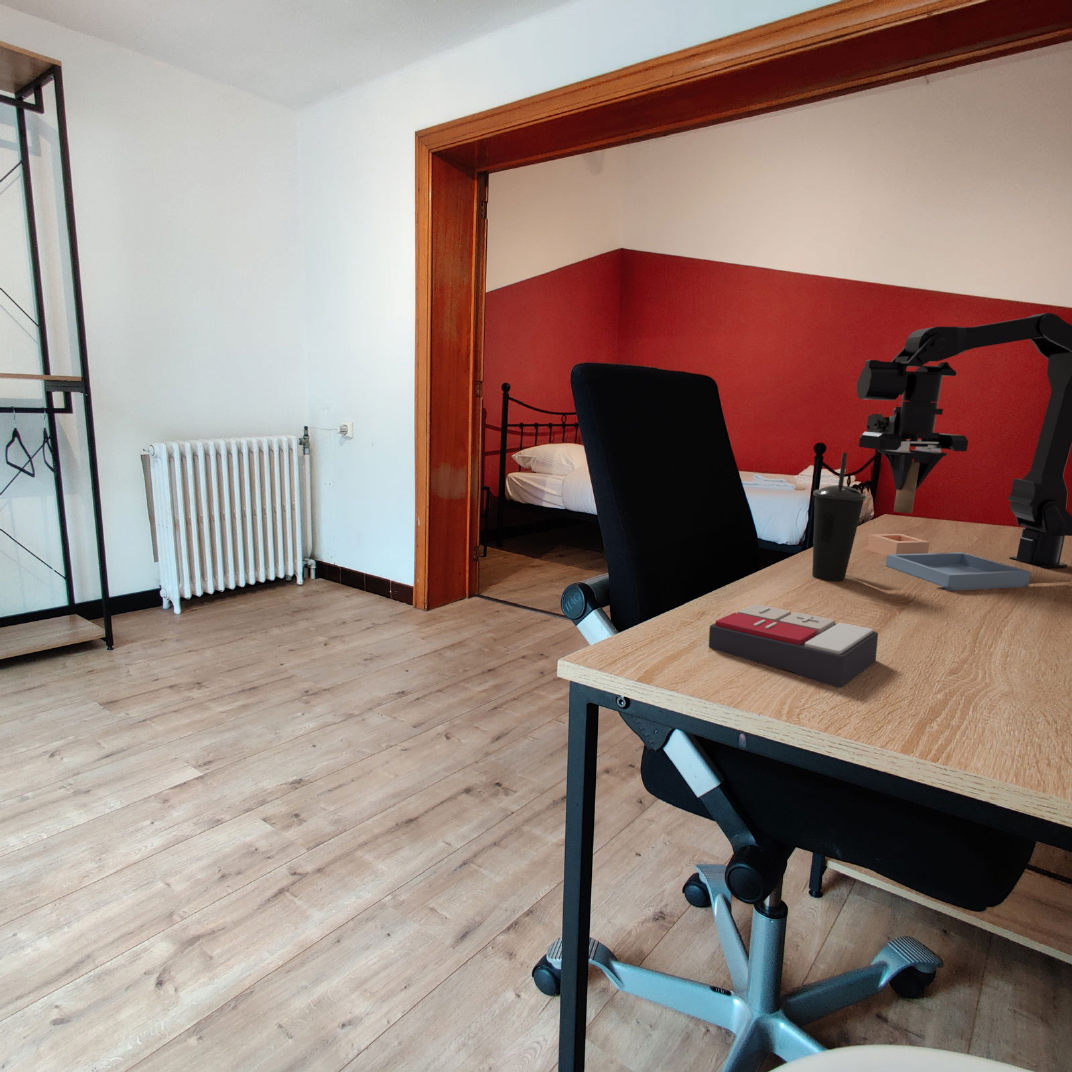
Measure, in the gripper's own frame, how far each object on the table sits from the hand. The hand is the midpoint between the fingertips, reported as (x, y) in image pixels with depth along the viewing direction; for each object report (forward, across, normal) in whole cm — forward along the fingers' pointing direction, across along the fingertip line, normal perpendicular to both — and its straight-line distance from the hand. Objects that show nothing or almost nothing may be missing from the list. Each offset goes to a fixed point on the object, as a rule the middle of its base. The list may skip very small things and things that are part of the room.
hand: (906, 489), depth 127 cm
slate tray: (+12, +1, +14) cm, 19 cm away
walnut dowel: (+4, 0, 0) cm, 4 cm away
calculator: (+13, +50, +39) cm, 65 cm away
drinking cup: (+13, +23, +11) cm, 28 cm away
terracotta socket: (+12, 0, 0) cm, 12 cm away
